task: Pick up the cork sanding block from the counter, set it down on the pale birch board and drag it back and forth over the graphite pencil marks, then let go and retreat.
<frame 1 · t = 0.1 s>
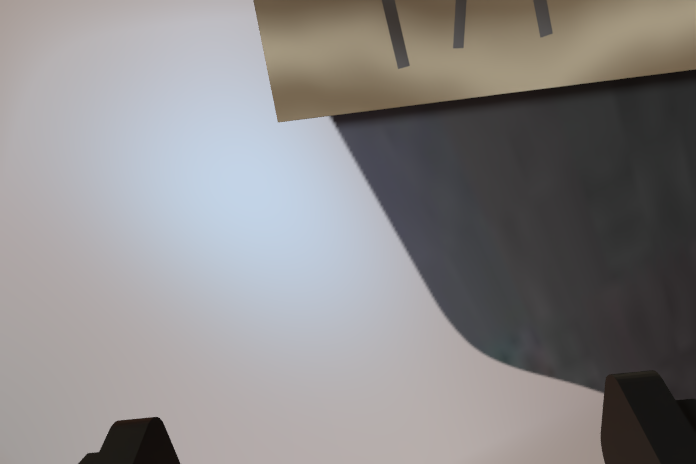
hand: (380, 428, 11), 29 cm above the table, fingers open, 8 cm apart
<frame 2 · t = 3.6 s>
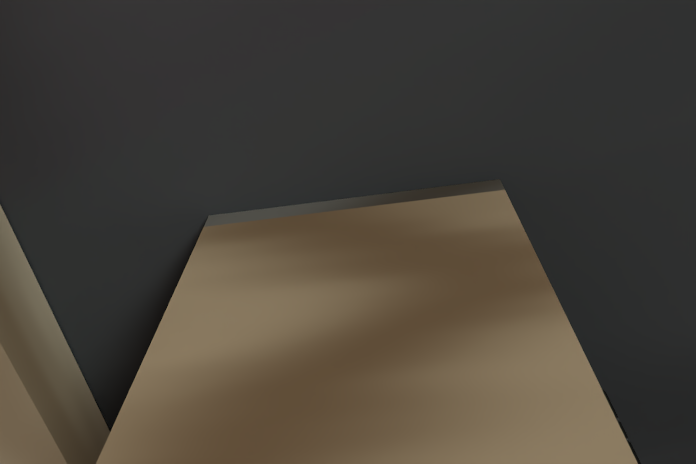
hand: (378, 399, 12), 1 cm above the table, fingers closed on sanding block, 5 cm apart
sanding block: (379, 373, 12), on the table, touching gripper
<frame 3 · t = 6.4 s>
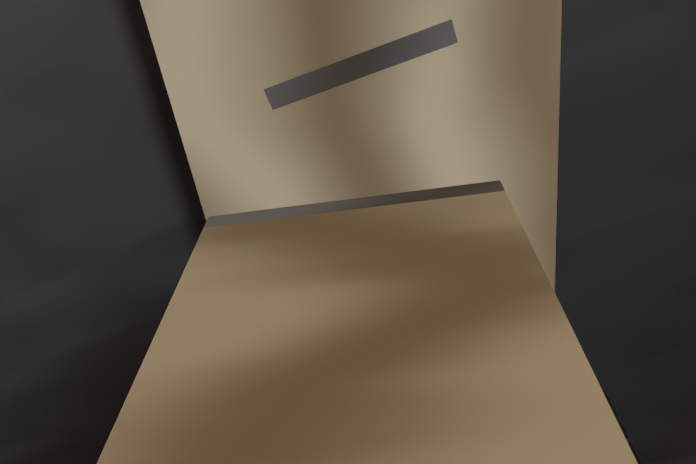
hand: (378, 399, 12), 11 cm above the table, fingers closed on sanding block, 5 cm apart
sanding block: (379, 374, 12), point 11 cm above the table, touching gripper
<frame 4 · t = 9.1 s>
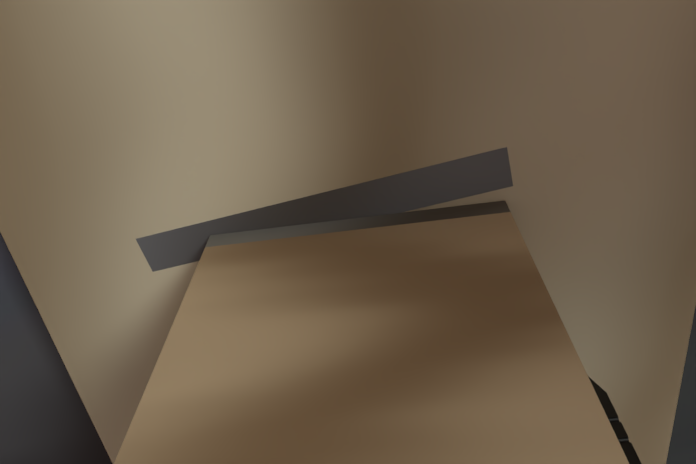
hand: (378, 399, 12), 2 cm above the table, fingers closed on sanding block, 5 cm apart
board: (378, 370, 14), on the table
sanding block: (381, 391, 12), point 2 cm above the table, touching gripper
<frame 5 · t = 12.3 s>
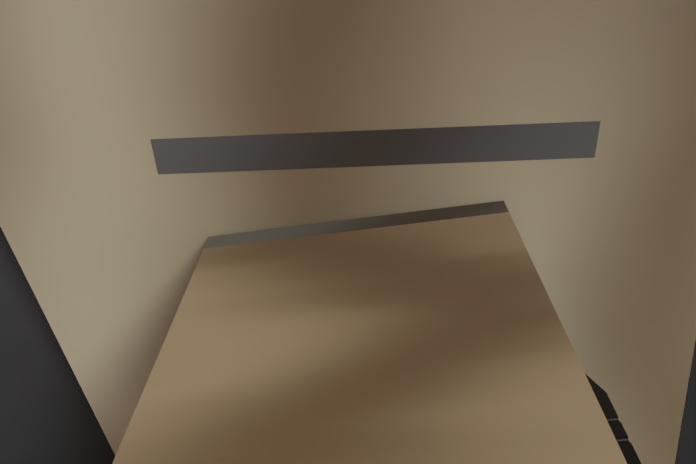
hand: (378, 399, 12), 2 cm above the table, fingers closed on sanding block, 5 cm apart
board: (351, 171, 11), on the table
sanding block: (381, 392, 12), point 2 cm above the table, touching gripper
when the fingers open (2 cm above the table, at t = 15.0 s): sanding block stays where it is, resting on board.
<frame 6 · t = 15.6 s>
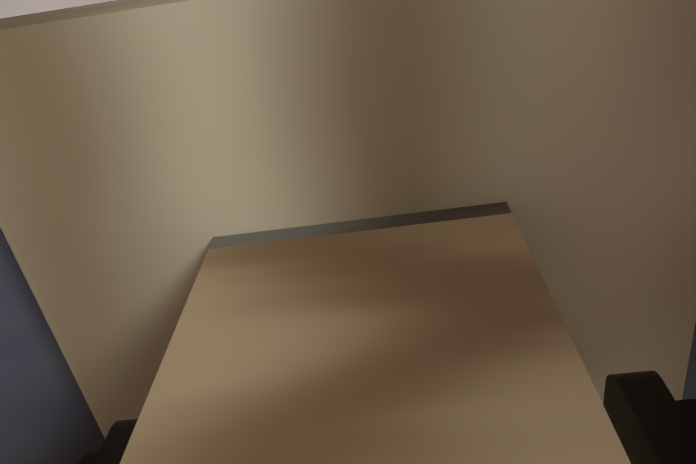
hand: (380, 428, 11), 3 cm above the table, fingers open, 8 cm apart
sanding block: (383, 392, 12), point 2 cm above the table, touching board
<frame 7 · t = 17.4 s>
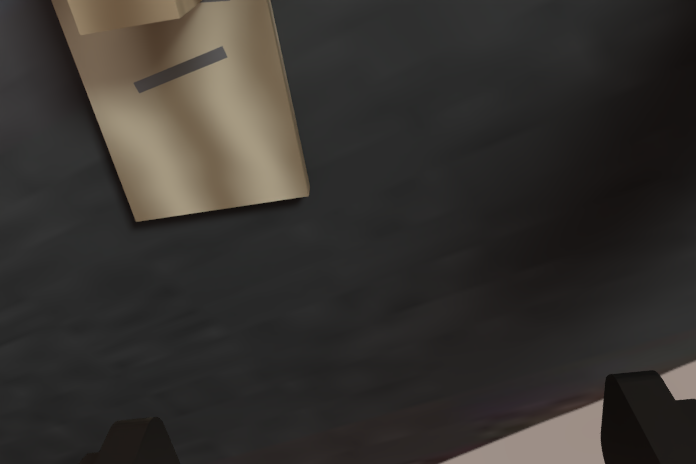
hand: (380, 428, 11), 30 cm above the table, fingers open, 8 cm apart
board: (171, 13, 36), on the table
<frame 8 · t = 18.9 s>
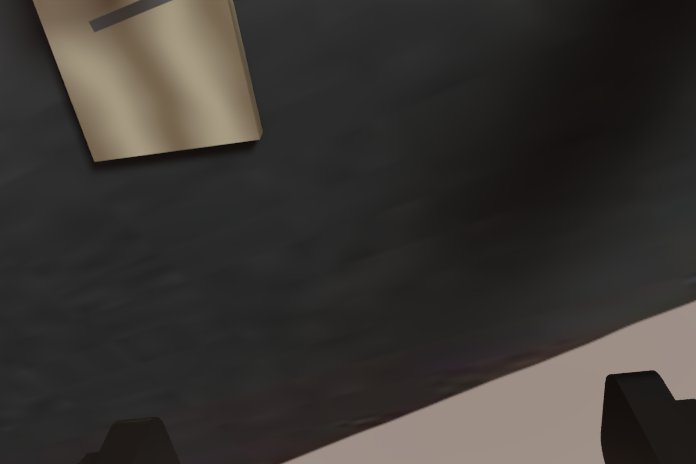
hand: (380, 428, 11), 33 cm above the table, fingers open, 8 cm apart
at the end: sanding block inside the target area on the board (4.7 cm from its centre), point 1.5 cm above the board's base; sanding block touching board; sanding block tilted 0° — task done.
